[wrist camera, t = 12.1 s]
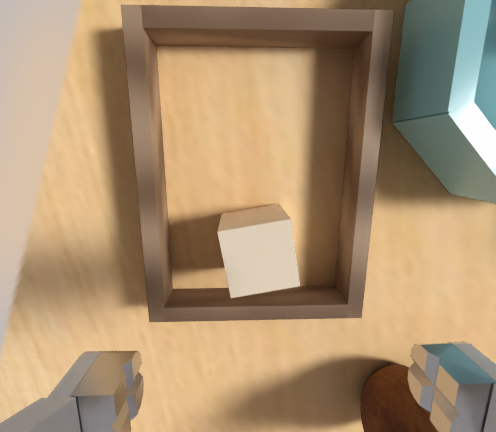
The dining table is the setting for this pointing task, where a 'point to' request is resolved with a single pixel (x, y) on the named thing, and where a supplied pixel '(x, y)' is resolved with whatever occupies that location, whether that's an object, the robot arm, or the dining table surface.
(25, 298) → the dining table surface
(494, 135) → the bowl
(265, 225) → the beige matte cube
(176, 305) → the frame
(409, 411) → the wooden figurine
